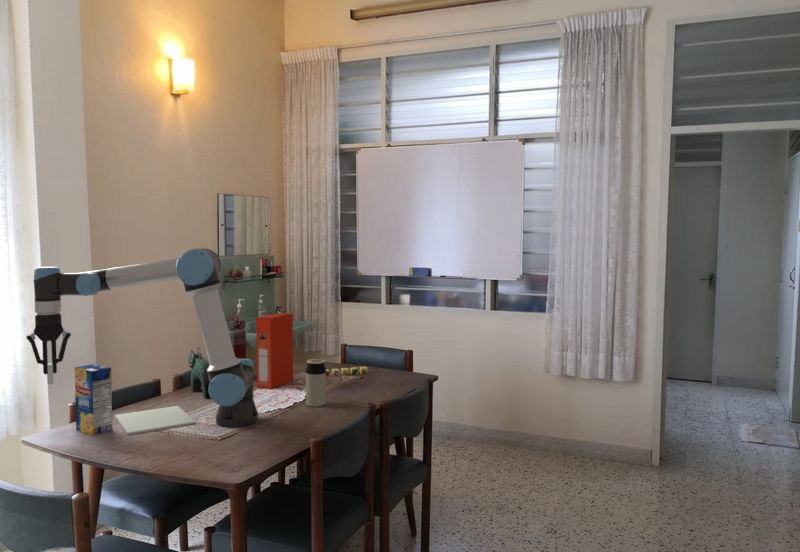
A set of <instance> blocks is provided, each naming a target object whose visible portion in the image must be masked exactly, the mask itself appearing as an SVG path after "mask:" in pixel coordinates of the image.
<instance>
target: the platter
mask: <svg viewBox="0 0 800 552" xmlns="http://www.w3.org/2000/svg"><path fill="white" fill-rule="evenodd" d="M330 372H331V373H330ZM359 372H360V373H359ZM368 372H369V370H368V367H367V366H359V367H357V366H356V367H354V366H353V367H350V368H348V367H341V368H340V369H339V368H331V371H330V370H329V369H327V368H326V376H332V375H333V377H335V376H334V375H341V374H342V375H341V376H349V375H352V374H356V375H359V374H361V375H364V374H363V373H368ZM350 373H351V374H350ZM330 374H331V375H330ZM348 374H349V375H348Z"/></svg>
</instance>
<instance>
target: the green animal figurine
mask: <svg viewBox="0 0 800 552" xmlns="http://www.w3.org/2000/svg"><path fill="white" fill-rule="evenodd" d="M197 350H198V351H197V352H195V351H193V349H190V351H191V352H190V353H189V354H188V360H187V361H188V362H187V364H188V367H189V368H190V369H191V372H190V391H191V392H193V393H197V392H202V396H203V399H205V400H208V399H209V400H210V399H211V397H210V395H209V384H210V381H209V377H208V373H207V368H208V367H209V365H210V362H209V360H207V358H205V357H204V356H203V354H202V353H201V348H200V347H198V348H197ZM199 351H200V352H199Z"/></svg>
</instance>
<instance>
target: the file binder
mask: <svg viewBox="0 0 800 552" xmlns="http://www.w3.org/2000/svg"><path fill="white" fill-rule="evenodd" d="M255 320H256V321H255V323H256V324H255V326H256V327H255V329H256V332H255V334H256V336H255V337H256V387H257V388H258V389H264V388H266V389H265V390H273V389H275V388H277V387H280V386H282V385H285V384H288V383H291V382H292V381H294V347H293V346H294V344H293V343H294V341H293V338H294V337H293V336H294V335H293V333H294V332H293V330H294V329H293V323H294V322H293V313H287V312H286V313H284V312H277V313H272V314H268V315H267V314H266V315H263V316H257V317H256V318H255Z"/></svg>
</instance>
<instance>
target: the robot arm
mask: <svg viewBox="0 0 800 552" xmlns="http://www.w3.org/2000/svg"><path fill="white" fill-rule="evenodd" d="M221 269H222V262H221V259H220V257H219V255H218V254H217V253H216V252H215V251H214V250H212V249H210V248H205V247H204V248H191V249H189V250H187V251H185V252H183V253H182V254H181V255H180V256H179V257H176V258H170V259H169V258H168V259H163V260H155V261H149V262H143V263H138V264H130V265H124V266H118V267H117V266H116V267H111V268H104V269H97V270H96V269H95V270H91V271H90V270H89V271H83V272H61V268H60V267H58V266H39V267H35V269H34V272H33V280H32V281H33V289H34V290H33V291H34V313H35V315H34V321H35V322H34V326H35V327H34V329H33V332H32V333H30V334H27V335H26V339H27V341H28V342H29V343H30V345H31V348H32V352H33V354H34V358H35V360H36V364H40V365H42V368H43V369H42V370H43V371H42V372H43V374H44V375H47V379H46V380H47V384H48V385H54V374H56V373H57V372H58V367H57V365H58V363H60V362H63V360H64V357H65V352H66V348H67V344H68V340H69V339H70V337H71V336H72V334H71V332H70V331H66V330H64V328H63V327H64V326H63V323H62V314H61V312H62V298H61V297H62V296H84V297H86V296H88V297H89V296H95V295H97V294H98V293H99V292H104V291H110V290H116V289H117V290H118V289H124V288H130V287H137V286H144V285H149V284H157V283H163V282H171V281H177V280H179V281H182V283H183V286H184V290H185V293H186V294H187V295H189V296H191V298H192V301H193V306H194V308H195V312H196V317H197V321H198V324H199V328H200V332H201V335H202V339H203V344H204V347H205V350H206V355H207V359H208V362H209V364H210V365H209V367H208V368H207V373H208V377H209V381H210V384H209V395H210V397H211V398H210V399H211V400H212V401H213V402H214V403H215V404H216V405H218V409H217V412H216V413H215V414H216V415H215V424H216V425H218V426H219V427H220V426H221V427H227V428H230V427H231V428H235V427H236V428H237V427H239V428H240V427H246V426H249V425H253V424H255V423H257V422H258V421H259V412H258V409H257V406H256V404H255V400H254V368H255V367H254V361H253V359H251V358H246V359H238V358H236V357H235V354H234V350H233V347H232V343H231V339H230V335H229V331H228V329H229V328H228V326H227V325H228V323H227V321H226V317H225V314H224V310H223V305H222V301H221V297H220V294H219V288H220V286H221V284H222V283H221V279H220V275H219V274H220V272H221ZM61 335H62V341H61V345H60V348H59V349H60V350H59V353H58V357H57V340H58V338H60V336H61ZM36 337H37V338H38V339H39V340H40V341H41V342H42V343H41V344H42V345H41V346H42V359H41V356H40V354H39V351H38V347H37V345H36V342H35V340H36ZM48 342H50V346H51V362H50V363H49V361H48Z"/></svg>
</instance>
